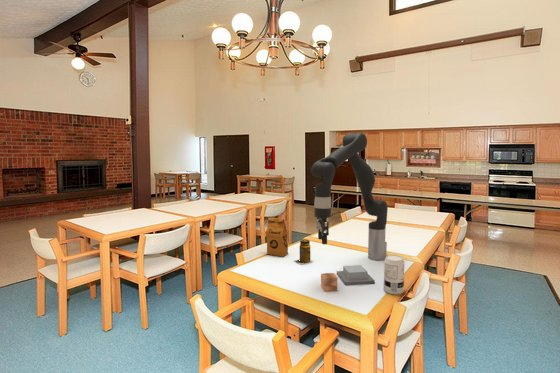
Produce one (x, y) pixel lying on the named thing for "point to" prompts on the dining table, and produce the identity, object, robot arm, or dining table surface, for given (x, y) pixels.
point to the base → (355, 282)
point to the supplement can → (394, 274)
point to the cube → (328, 282)
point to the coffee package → (277, 237)
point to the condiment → (304, 252)
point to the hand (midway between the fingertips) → (322, 241)
